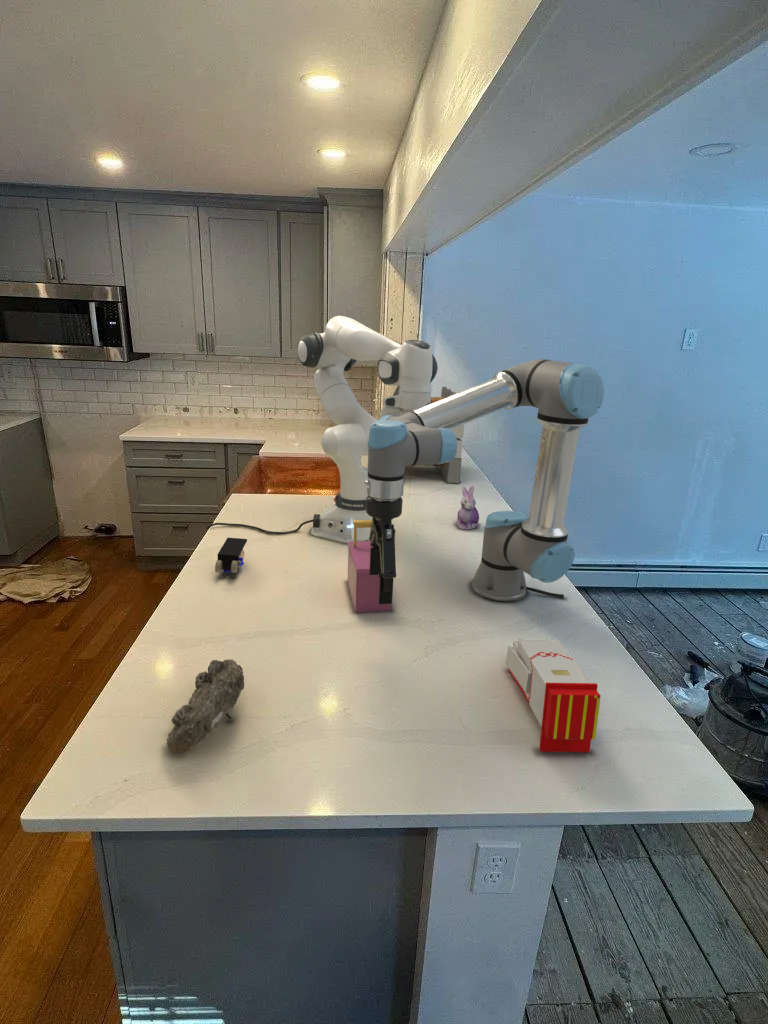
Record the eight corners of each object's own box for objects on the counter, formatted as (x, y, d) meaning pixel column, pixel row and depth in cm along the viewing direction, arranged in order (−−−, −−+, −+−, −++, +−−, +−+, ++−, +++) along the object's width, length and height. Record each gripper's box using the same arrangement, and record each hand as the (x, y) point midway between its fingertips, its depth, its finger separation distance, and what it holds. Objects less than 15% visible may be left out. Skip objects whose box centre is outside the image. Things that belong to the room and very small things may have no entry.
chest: (347, 581, 164) (348, 545, 160) (379, 580, 165) (381, 544, 161) (355, 612, 147) (356, 573, 144) (391, 610, 149) (393, 571, 145)
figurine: (464, 532, 204) (468, 492, 199) (449, 522, 212) (452, 484, 207) (486, 528, 208) (490, 489, 203) (469, 519, 216) (473, 481, 211)
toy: (554, 622, 128) (610, 691, 98) (548, 677, 130) (601, 759, 101) (501, 621, 127) (541, 690, 98) (496, 676, 130) (534, 758, 101)
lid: (348, 545, 160) (348, 516, 157) (381, 544, 162) (382, 515, 159) (356, 573, 144) (357, 541, 141) (393, 571, 145) (394, 540, 142)
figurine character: (238, 584, 162) (249, 557, 175) (236, 562, 158) (247, 536, 172) (215, 584, 161) (227, 556, 175) (212, 561, 158) (225, 535, 171)
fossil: (192, 660, 117) (244, 628, 112) (224, 691, 120) (276, 661, 115) (142, 746, 98) (202, 712, 93) (182, 779, 101) (242, 748, 96)
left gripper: (453, 404, 156) (449, 453, 161) (388, 396, 165) (386, 443, 170) (444, 406, 151) (440, 457, 155) (377, 398, 160) (375, 446, 165)
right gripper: (359, 479, 128) (356, 564, 135) (375, 517, 105) (371, 617, 112) (391, 478, 130) (387, 563, 137) (415, 516, 106) (408, 616, 114)
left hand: (411, 449), depth 163 cm, fingers open, 8 cm apart
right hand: (380, 588), depth 125 cm, fingers open, 13 cm apart
